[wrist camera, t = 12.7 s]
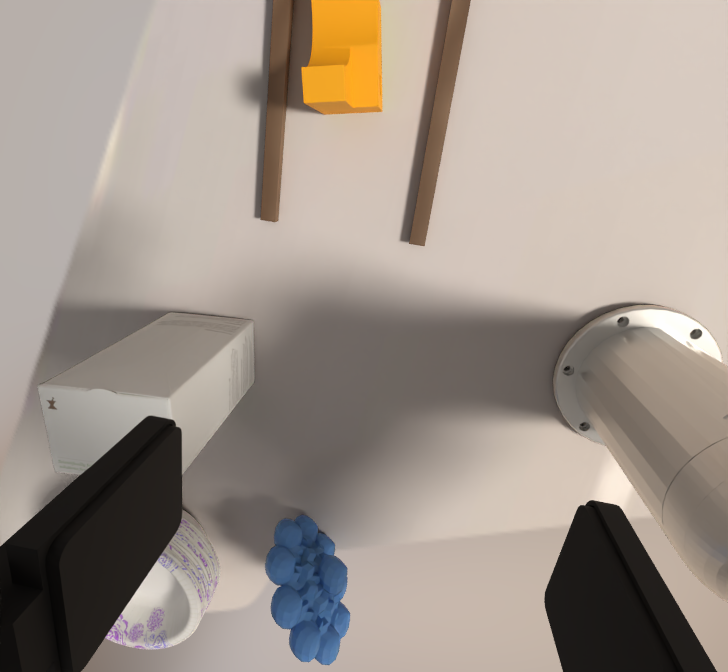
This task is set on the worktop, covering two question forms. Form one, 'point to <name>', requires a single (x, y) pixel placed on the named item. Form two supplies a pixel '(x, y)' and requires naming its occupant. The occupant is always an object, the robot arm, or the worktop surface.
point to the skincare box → (150, 387)
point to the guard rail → (278, 101)
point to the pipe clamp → (344, 57)
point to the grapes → (308, 589)
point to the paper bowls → (171, 592)
